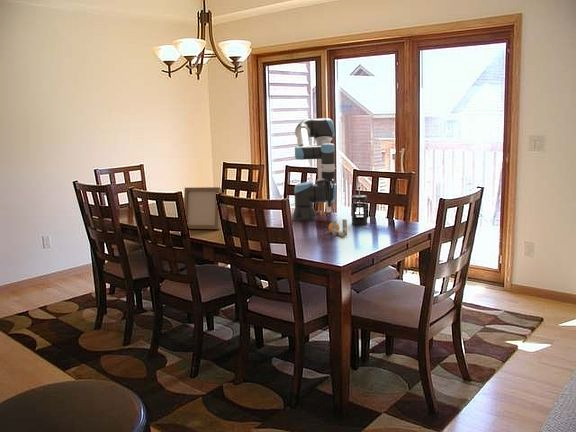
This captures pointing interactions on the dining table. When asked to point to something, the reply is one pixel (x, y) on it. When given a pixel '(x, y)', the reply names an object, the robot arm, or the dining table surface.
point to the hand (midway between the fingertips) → (328, 211)
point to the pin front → (340, 234)
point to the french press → (356, 205)
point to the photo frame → (202, 207)
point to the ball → (331, 227)
